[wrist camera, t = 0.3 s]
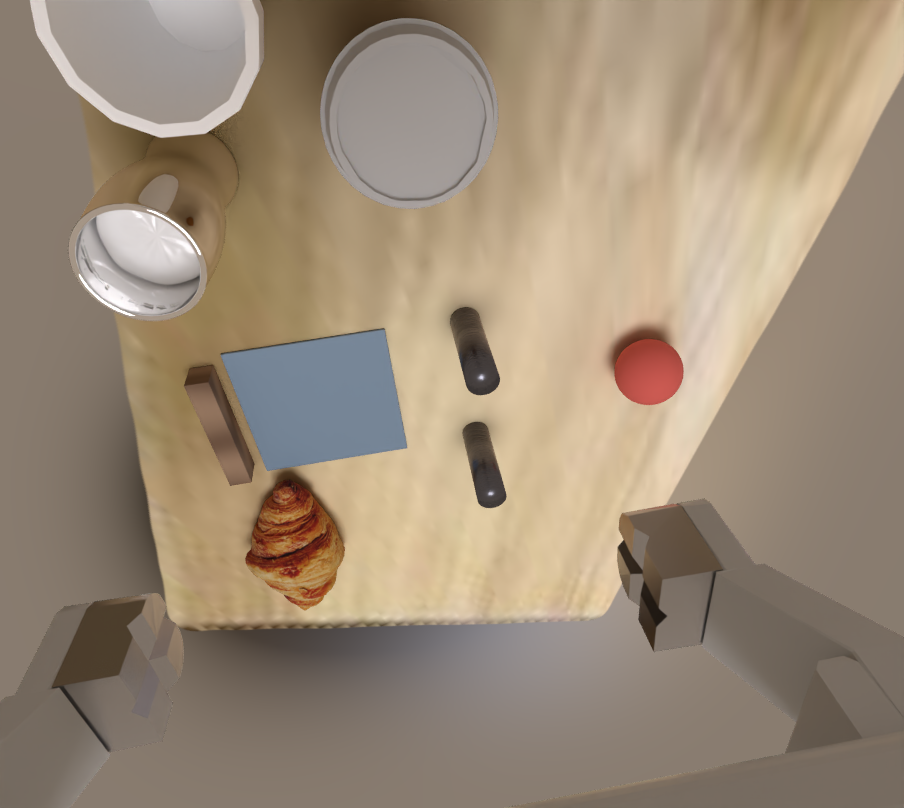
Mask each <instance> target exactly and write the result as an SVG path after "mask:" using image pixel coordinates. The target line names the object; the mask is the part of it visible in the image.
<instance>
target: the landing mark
mask: <svg viewBox="0 0 904 808" xmlns="http://www.w3.org/2000/svg"><path fill="white" fill-rule="evenodd" d="M221 357H222V360H223V362H224V365H225V367H226V370H227V372H228V375H229V377H230V380H231V382H232V385H233V387H234V390H235V392H236V394H237V397H238V399H239V402H240V404H241V407H242V409H243V412H244V414H245V417H246V419H247V422H248V424H249V427H250V429H251V432H252V434H253V437H254V439H255V442H256V444H257V447H258V449H259V452H260V454H261V457H262V459H263V462H264V464H265V467H266V469H267V471H270V470H276V469H282V468H288V467H294V466H301V465H307V464H313V463H319V462H325V461H331V460H337V459H343V458H349V457H355V456H361V455H368V454H374V453H380V452H386V451H392V450H398V449H404V448H407V444H406V439H405V434H404V428H403V423H402V418H401V413H400V408H399V402H398V397H397V392H396V387H395V382H394V376H393V371H392V366H391V361H390V356H389V350H388V345H387V340H386V335H385V330H384V329H378V330H371V331H365V332H358V333H352V334H345V335H339V336H332V337H326V338H319V339H313V340H307V341H300V342H294V343H287V344H281V345H274V346H268V347H261V348H255V349H248V350H242V351H235V352H229V353H222V354H221Z"/></svg>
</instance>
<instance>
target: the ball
mask: <svg viewBox="0 0 904 808" xmlns="http://www.w3.org/2000/svg"><path fill="white" fill-rule="evenodd" d="M683 372H684V371H683V364H682V360H681V358H680V356H679V354H678V353H677V352H676V350H675V349H674V348H673V347H671V346H670V345H668V344H667V343H665V342H663V341H660V340H655V339H643V340H639V341H636V342H634V343H632V344H630V345H629V346H628V347H626V348H625V349H624V350H623V351H622V352H621V354H620V355H619V357H618V359H617V361H616V365H615V380H616V383H617V386H618V388H619V389H620V391H621V392H622V393H623V395H625V396H626V397H627V398H628V399H630V400H631V401H633V402H636V403H638V404H643V405H653V404H658V403H661V402H664V401H666V400H667V399H669V398H670V397H672V396H673V395H674V394H675V393H676V391H677V390H678V389H679V387H680V385H681V383H682V379H683Z"/></svg>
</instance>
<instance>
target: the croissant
mask: <svg viewBox="0 0 904 808" xmlns="http://www.w3.org/2000/svg"><path fill="white" fill-rule="evenodd" d="M344 551H345V547H344V546H343V543H342V541H341V539H340V538H339V534H338V532H337V529H336V526H335V525H334V523H333V521H332V520H331V518H330V517H329V515H328V514H326V513H325V511H324V509H323V508H322V507H321V506H320V505H319V504H318V503H317V501H316V500H315V499H314V498H313V496H312V494H311V492H310V491H308V490H307V489H305V488H304V487H302V486H301V485H299V484H297V483H295V482H293V481H291V480H286V481H283V482H279V483H278V484H277V485H276V486H275V488H274V490H273V495H272V496H271V497H270V498H268V499H267V500H266V501H265V502H264V504H263V506H262V510H261V514H260V517H259V518H258V522H257V523H256V525H255V527H254V530H253V533H252V547H251V550H250V551H249V552H248V553H247V556H246V558H245V559H246V564H247V566H248V568H249V569H250V570H251V572H252V573H253V574H254V575H255V576H256V577H259V578H261V579H263V580H265V582H266V583H267V584H268V585H269V586H270V587H272V589H274V590H276V591H278V592H280V593H282V594H284V596H285V597H286V598H287V599H288V600H289V601H290V602H292V603H294V604H296V605H297V606H299V607H300V608H301V609H303V610H307V609H309V608H310V607H312V606H315V605H317V604H319V603H320V602H321V601H322V600H323V598H324V595H326V593H327V592H329V591H330V590H331V589H332V587H333V585H334V583H335V581H336V576H337V569H338V567H339V566H340V564H341V562H342V560H343V557H344Z"/></svg>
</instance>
